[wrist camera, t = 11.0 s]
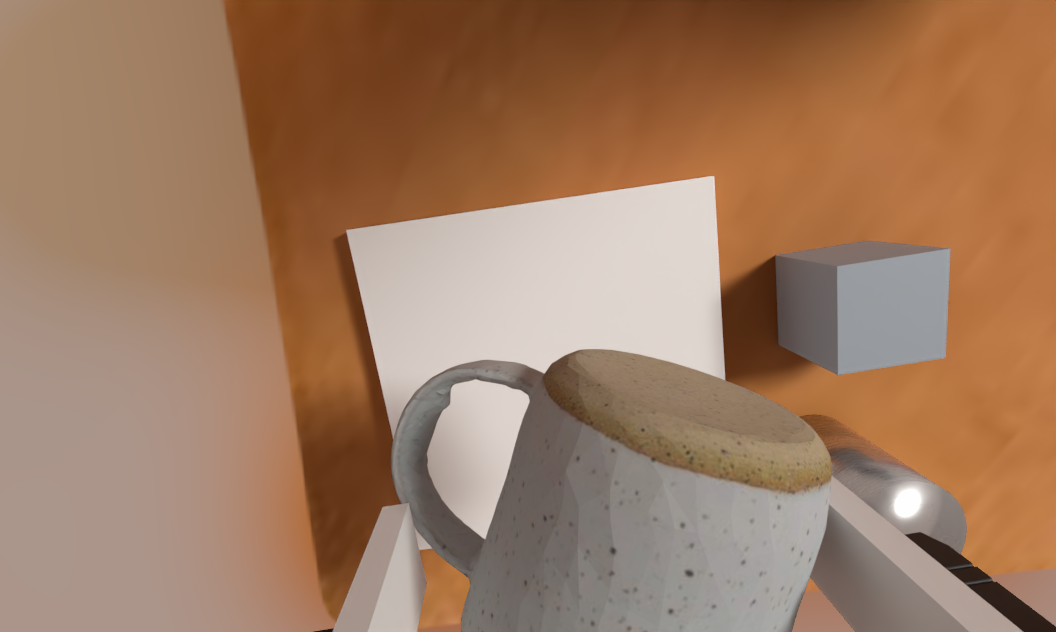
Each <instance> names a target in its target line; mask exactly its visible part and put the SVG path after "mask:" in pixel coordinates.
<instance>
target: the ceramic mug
mask: <svg viewBox="0 0 1056 632" xmlns="http://www.w3.org/2000/svg"><path fill="white" fill-rule="evenodd" d="M475 379H477V380H480V381H485V382H491V383H496V384H502V385H506V386H507V387H510V388H512V389H517V390H521V391H523V392H524V393H526V394H527V395H528V396H529V400H530V402H529V405H528V407H527V410H526V412H525V414H524V417H523V420H522V423H521V426H520V429H519V432H518V436H517V439H516V443H515V447H514V450H513V454H512V458H511V462H510V465H509V469H508V473H507V477H506V480H505V482H504V485H503V488H502V491H501V494H500V497H499V499H498V502H497V505H496V509H495V512H494V515H493V518H492V521H491V524H490V526H489V529H488V532H487V535H486V539H484V538H482V537H481V536H480V535H479V534H477V533H476V532H475V531H473V530H472V529H471V528H470V527H469V526H467V525H466V524H464V523H463V522H462V520H461V519H459V518H458V517H457V516H456V515H455V514H454V513H453V512H452V511H451V510H450V509H449V508H448V506H447V505H446V504H445V503H444V501H443V500H442V499H441V497H440V495H439V493H438V492H437V490H436V488H435V486H434V484H433V481H432V479H431V477H430V475H429V471H428V466H427V464H428V457H427V451H428V448H429V445H430V442H431V439H432V436H433V433H434V430H435V427H436V424H437V421H438V419H439V417H440V415H441V413H442V411H443V410H444V409H446V408H447V407H448V406H449V405H450V398H451V397H450V396H451V388H452V386H453V385H454V384H458V383H462V382H468V381H472V380H475ZM391 472H392V478H393V483H394V486H395V490H396V493H397V495H398V498H399V500H400V502H401V504H405V503H409V506H410V511H411V515H412V519H413V524H414V527H415V528H416V530H417V531H418V533H419V534H420V535H421V536H422V537H423V538H424V539H425V541H426V542H427V543H428V544H429V545H430V546H431V547H432V548H433V549H434V550H435V552H436V553H437V554H438V555H440V556H441V557H442V558H443V559H444V560H446V561H447V562H448V563H449V564H451V565H452V566H454V567H455V568H456V569H457V570H459V571H460V572H461V573H463V574H464V575H466V576H467V577H468V578H469V580H470V589H469V592H468V595H467V598H466V601H465V604H464V609H463V613H462V618H461V632H792V629H793V625H794V621H795V618H796V615H797V612H798V608H799V606H800V603H801V600H802V598H803V595H804V592H805V589H806V587H807V584H808V581H809V579H810V576H811V573H812V570H813V567H814V564H815V561H816V558H817V555H818V552H819V549H820V546H821V543H822V539H823V536H824V533H825V530H826V524H827V516H828V508H829V500H830V491H831V480H832V465H831V456H830V454H829V453H828V451H827V449H826V447H825V445H824V443H823V441H822V440H821V438H820V437H819V436H818V434H817V433H816V432H815V431H814V429H813V428H812V427H811V426H809V425H808V424H807V423H806V422H805V421H804V420H803V419H801V418H800V417H798V416H797V415H795V414H793V413H792V412H790V411H789V410H787V409H786V408H784V407H783V406H781V405H779V404H777V403H775V402H773V401H771V400H769V399H767V398H765V397H763V396H761V395H759V394H757V393H755V392H752V391H750V390H748V389H746V388H743V387H741V386H738V385H736V384H733V383H731V382H728V381H726V380H723V379H721V378H718V377H715V376H712V375H709V374H707V373H704V372H701V371H698V370H695V369H692V368H689V367H685V366H682V365H679V364H675V363H672V362H668V361H664V360H660V359H656V358H652V357H648V356H644V355H640V354H634V353H628V352H622V351H616V350H605V349H583V350H577V351H575V352H572V353H569V354H567V355H565V356H563V357H561V358H560V359H558V360H556V361H555V362H553V363H552V364H551V365H550V366H549V368H548V369H547V371H546V372H545V374H544V373H542V372H540V371H538V370H536V369H533V368H530V367H529V366H527V365H525V364H521V363H516V362H507V361H497V360H479V361H474V362H469V363H464V364H460V365H457V366H454V367H451V368H449V369H447V370H445V371H443V372H441V373H439V374H437V375H435V376H433V377H432V378H431V379H429V380H428V381H427V382H426V383H425V384H423V385H422V386H421V387H420V388H419V389H418V390H417V391H416V392H415V393H414V394H413V396H412V397H411V399H410V400H409V402H408V403H407V404H406V406H405V408H404V410H403V412H402V414H401V416H400V419H399V421H398V425H397V428H396V431H395V435H394V439H393V444H392V449H391Z"/></svg>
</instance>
